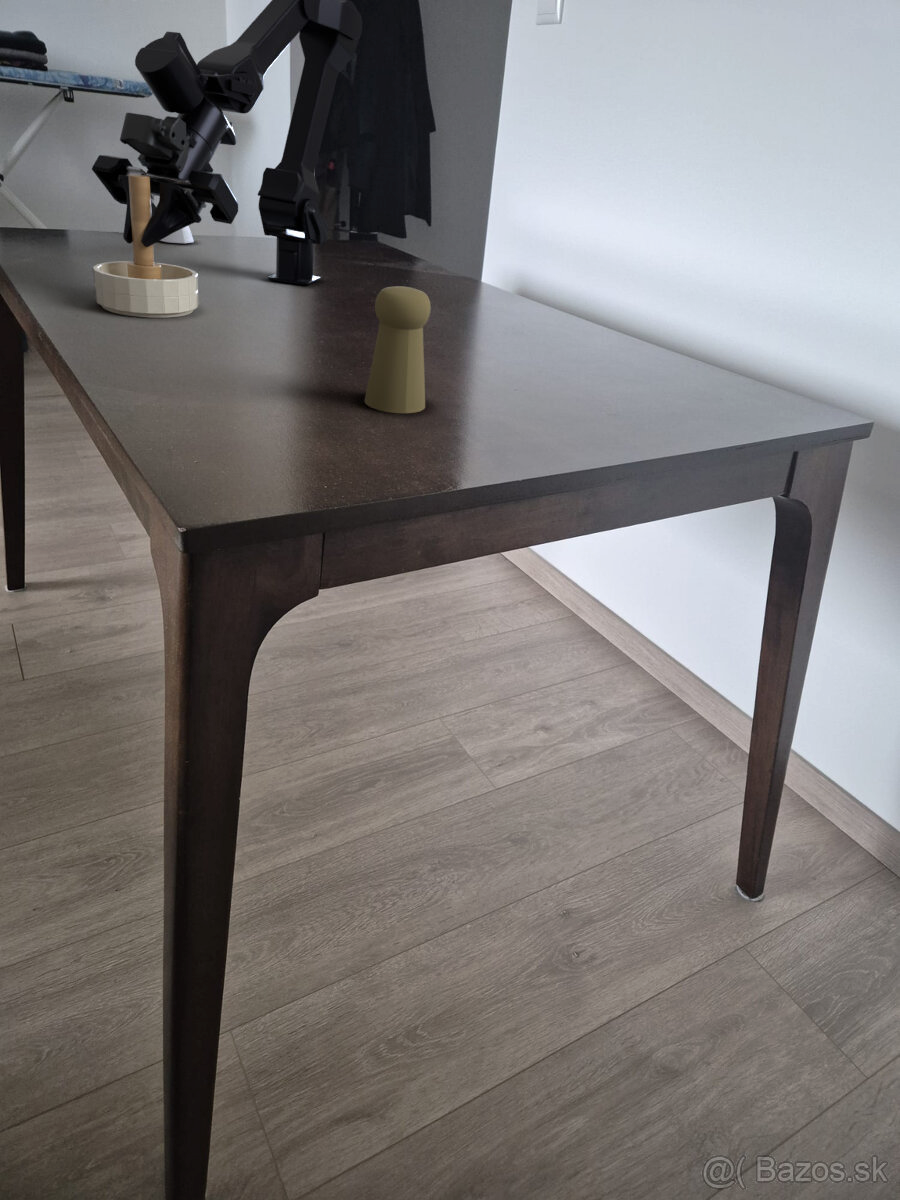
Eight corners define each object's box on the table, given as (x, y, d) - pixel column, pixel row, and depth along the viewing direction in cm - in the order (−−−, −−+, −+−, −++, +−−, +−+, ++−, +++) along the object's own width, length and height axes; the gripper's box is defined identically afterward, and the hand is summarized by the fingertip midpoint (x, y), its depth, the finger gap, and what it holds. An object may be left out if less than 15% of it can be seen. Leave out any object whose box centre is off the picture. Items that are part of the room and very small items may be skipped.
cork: (364, 392, 88) (371, 279, 83) (423, 397, 89) (434, 285, 84) (364, 410, 83) (372, 290, 78) (427, 415, 84) (439, 297, 78)
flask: (188, 246, 155) (186, 184, 150) (147, 241, 154) (144, 179, 149) (199, 241, 161) (197, 181, 156) (160, 236, 161) (157, 176, 156)
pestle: (122, 296, 110) (113, 173, 103) (144, 292, 113) (137, 173, 106) (147, 301, 108) (140, 178, 101) (169, 298, 112) (163, 177, 105)
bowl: (127, 293, 116) (125, 257, 114) (214, 306, 115) (213, 271, 113) (76, 308, 105) (73, 269, 103) (171, 323, 104) (169, 284, 102)
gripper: (96, 80, 105) (34, 181, 102) (222, 97, 100) (161, 204, 96) (145, 153, 116) (90, 248, 112) (262, 172, 110) (209, 272, 106)
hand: (135, 242), depth 106 cm, fingers closed on pestle, 2 cm apart
